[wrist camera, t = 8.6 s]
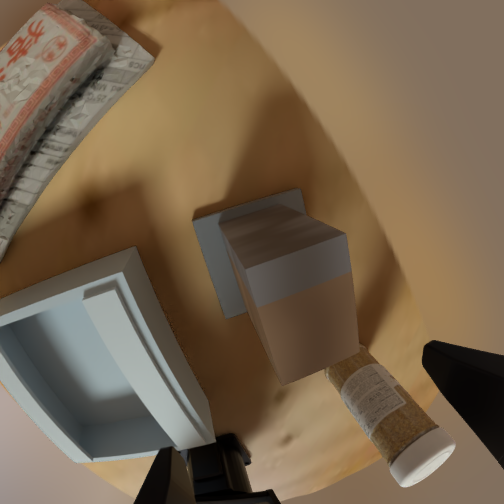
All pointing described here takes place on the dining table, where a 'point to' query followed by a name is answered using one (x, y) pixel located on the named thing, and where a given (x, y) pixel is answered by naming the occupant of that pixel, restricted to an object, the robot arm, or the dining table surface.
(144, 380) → the grey open tray
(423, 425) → the sprinkles bottle
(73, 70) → the packaged product
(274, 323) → the block
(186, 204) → the dining table surface
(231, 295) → the coaster
